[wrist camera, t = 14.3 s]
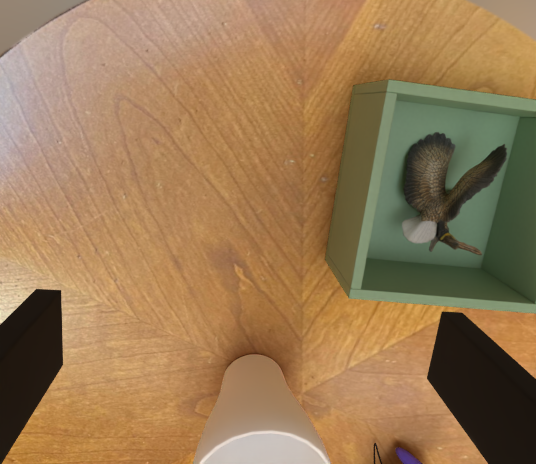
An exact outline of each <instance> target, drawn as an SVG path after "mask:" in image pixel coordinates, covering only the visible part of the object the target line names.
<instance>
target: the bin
mask: <svg viewBox="0 0 536 464" xmlns="http://www.w3.org/2000/svg"><path fill="white" fill-rule="evenodd" d="M435 132H439V133H440V134H442V133H444V134H445V135H446V138H450V139H451V142H452V144H455V146H456V147H455V151H454V153H453V155H452V158H451V160H450V162H449V166H448V171H447V175H446V181H445V182H446V184H445V189H446V193H447V192H448V191H449V190H452V189H453V187H454V186H455V185H456V183H457V182H458V181H459V180H460V178H461V177H462V176H463V175H464V174H465V173H466V172H467V171H468V170H470V169H471V168H473V167H474V166H476V165H478V164H480V163H481V162H482V161H483V160H484V159H485V158H486V157H487V156H488V155H489V154H490V153H491V152H492V151H493V150H496V148H497V147H499V146H502V145H503V144H505V148H507V151H506V152H507V156H506V158H507V159H506V161H505V162H504V164H503V166H502V168H501V169H500V171H499V172H498V173H497V176H496V177H494V181H493V182H492V183H491V184H490V186H488V187H487V188H483V189H482V190H481V191H480V192H479V193H476V194H475V195H474V196H473V197H472V199H470V200H467V201H466V203H465V204H463V205H462V207H461V209H460V213H459V215H458V216H456V218H454V219H453V220H452V221H451V220H450V222H447V226H448V228H449V233H450V234H451V235H453V236H454V237H455V239H457V240H458V241H459V242H464V243H465V244H467V245H471V246H474V247H476V248H477V249H478V250H480V251H481V252H482V255H477V254H474V253H472V252H470V251H467V250H463V249H459V248H458V249H456V250H454V249H452V248H451V247H450V246H448V245H446V244H445V243H443V242H440V241H438V242H437V243H436V245H435V246H434V248H433V251H432V252H430V251H429V247H430V244H431V241H429V242H427V243H417V244H416V243H412V242H410V241H408V240H407V239H406V237H404V236H403V230H402V222H403V221H404V220H407V219H410V218H412V217H415V216H417V215H419V214H420V212H418V211H417V208H414V207H413V206H412V205H411V204H408V202H407V201H406V200H405V195H404V190H403V189H404V185H405V184H406V174H407V171H406V167H407V164H408V163H407V161H406V160H407V158H408V153H409V152H410V151H411V148H412V147H413V145H414V144H416V143H417V144H418V142H419V140H420V139H422V140H423V141H424V140H425V138H426V136H427V135H429V134H431V135H433V134H434V133H435ZM325 261H326V262H327V264H328V266H329V267H330V269H331V270H332V272H333V274H334V275H335V277H336V278H337V280H338V282H339V283H340V285H341V287H342V288H343V290H344V291H345V293H346V295H347V296H348V298H350V299H362V300H375V301H387V302H399V303H412V304H424V305H437V306H449V307H461V308H474V309H486V310H498V311H511V312H523V313H536V100H535V99H528V98H521V97H514V96H506V95H499V94H492V93H485V92H478V91H470V90H463V89H456V88H449V87H441V86H434V85H427V84H420V83H412V82H405V81H398V80H391V79H388V80H382V81H376V82H370V83H364V84H358V85H353V90H352V96H351V102H350V109H349V115H348V121H347V127H346V133H345V139H344V145H343V152H342V158H341V164H340V170H339V176H338V182H337V188H336V195H335V201H334V207H333V213H332V219H331V225H330V231H329V238H328V244H327V250H326V256H325Z"/></svg>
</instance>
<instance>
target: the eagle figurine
mask: <svg viewBox="0 0 536 464" xmlns="http://www.w3.org/2000/svg"><path fill="white" fill-rule="evenodd" d="M455 147H456V146H455V144H452V142H451V139H450V138H446V135H445V134H444V133H442V134H440V133H439V132H435V133H434V134H433V135H431V134H429V135H427V136H426V138H425V140H424V141H423V140H422V139H420V140H419V142H418V144H417V143H416V144H414V145H413V147H412V148H411V151H410V152H409V153H408V158H407V160H406V161H407V163H408V164H407V167H406V171H407V174H406V184H405V185H404V189H403V190H404V195H405V200H406V201H407V202H408V204H411V205H412V206H413V207H414V208H417V211H418V212H420V214H419V215H417V216H415V217H412V218H410V219H407V220H404V221H403V222H402V230H403V236H404V237H406V239H407V240H408V241H410V242H412V243H416V244H417V243H427V242H429V241H431V244H430V247H429V251H430V252H432V251H433V248H434V246H435V245H436V243H437V242H438V241H440V242H443V243H445V244H446V245H448V246H450V247H451V248H452V249H454V250H456V249H458V248H459V249H463V250H467V251H470V252H472V253H474V254H477V255H482V252H481V251H480V250H478V249H477V248H476V247H474V246H471V245H467V244H465V243H464V242H459V241H458V240H457V239H455V237H454V236H453V235H451V234H450V233H449V228H448V226H447V222H450V220H451V221H452V220H453V219H454V218H456V216H458V215H459V213H460V209H461V207H462V205H463V204H465V203H466V201H467V200H470V199H472V197H473V196H474V195H475V194H476V193H479V192H480V191H481V190H482V189H483V188H487V187H488V186H490V184H491V183H492V182H493V181H494V177H496V176H497V173H498V172H499V171H500V169H501V168H502V166H503V164H504V162H505V161H506V159H507V158H506V156H507V152H506V151H507V148H505V144H503V145H502V146H499V147H497V148H496V150H493V151H492V152H491V153H490V154H489V155H488V156H487V157H486V158H485V159H484V160H483V161H482V162H481V163H480V164H478V165H476V166H474V167H473V168H471V169H470V170H468V171H467V172H466V173H465V174H464V175H463V176H462V177H461V178H460V180H459V181H458V182H457V183H456V185H455V186H454V187H453V189H452V190H449V191H448V192H447V193H446V189H445V184H446V182H445V181H446V175H447V171H448V166H449V162H450V160H451V158H452V155H453V153H454V151H455Z"/></svg>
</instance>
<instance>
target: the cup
mask: <svg viewBox="0 0 536 464" xmlns="http://www.w3.org/2000/svg"><path fill="white" fill-rule="evenodd" d="M193 464H331V462H330V459H329V457H328V454H327V452H326V449H325V447H324V444H323V441H322V439H321V437H320V436H319V434H318V432H317V430H316V429H315V427H314V425H313V423H312V422H311V420H310V418H309V416H308V415H307V413H306V412H305V410H304V409H303V407H302V406H301V404H300V403H299V402H298V400H297V399H296V398H295V396H294V395H293V394H292V392H291V390H290V389H289V387H288V385H287V383H286V381H285V378H284V375H283V373H282V370H281V368H280V367H279V365H278V364H277V363H276V362H275V361H274V360H272V359H271V358H269V357H266V356H264V355H258V354H251V355H246V356H242V357H240V358H238V359H236V360H235V361H233V362H232V363H231V364H230V365H229V366H228V368H227V369H226V371H225V373H224V377H223V381H222V386H221V391H220V394H219V396H218V399H217V401H216V404H215V406H214V408H213V410H212V412H211V414H210V416H209V418H208V420H207V422H206V425H205V427H204V430H203V433H202V436H201V438H200V441H199V444H198V447H197V450H196V454H195V458H194V461H193Z"/></svg>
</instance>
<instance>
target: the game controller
mask: <svg viewBox="0 0 536 464" xmlns="http://www.w3.org/2000/svg"><path fill="white" fill-rule="evenodd" d="M375 446H376V449H377V445H376V443H375V444H374V464H375ZM395 451H396V454H397V456H398V457H399V459H400V460H401V462H402V463H403V464H422V463H421V462H420V461H419V460H418V459H416V458H415V457H414V456H413V455H412V454H410V453H409V452H408V451H406V450H405V449H403V448H400V447H397V448H396V449H395ZM377 453H378V456H379V452H378V449H377ZM379 459H380V456H379ZM380 462H381V459H380ZM381 464H382V462H381Z"/></svg>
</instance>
